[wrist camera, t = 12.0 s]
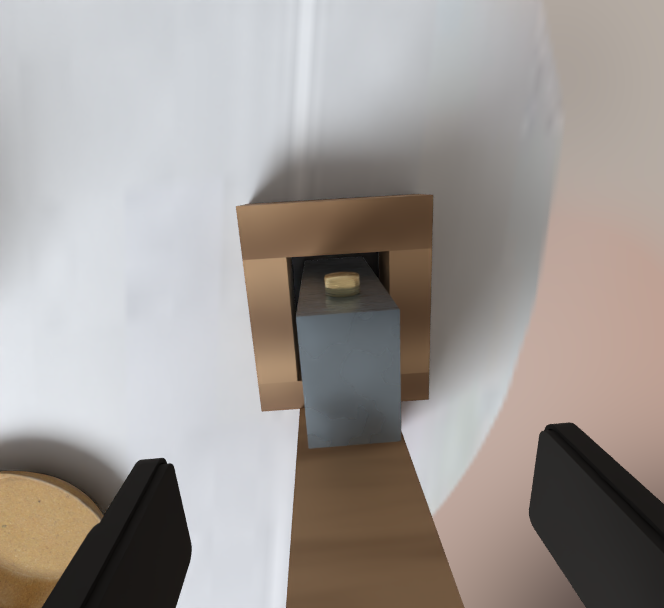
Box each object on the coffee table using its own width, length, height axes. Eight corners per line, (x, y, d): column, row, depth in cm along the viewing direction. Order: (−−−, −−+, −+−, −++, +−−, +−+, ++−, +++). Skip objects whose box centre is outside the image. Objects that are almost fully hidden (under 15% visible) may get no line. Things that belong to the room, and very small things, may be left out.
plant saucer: (-5, 601, 34) (-31, 634, 31) (-89, 469, 30) (-126, 495, 27) (154, 572, 34) (141, 602, 31) (93, 434, 29) (72, 457, 27)
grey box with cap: (303, 248, 26) (294, 296, 14) (362, 244, 26) (399, 289, 14) (311, 341, 28) (308, 448, 16) (365, 337, 28) (401, 441, 16)
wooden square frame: (248, 203, 25) (12, 252, 5) (414, 194, 25) (749, 207, 6) (277, 454, 30) (212, 907, 11) (412, 444, 31) (575, 870, 11)
